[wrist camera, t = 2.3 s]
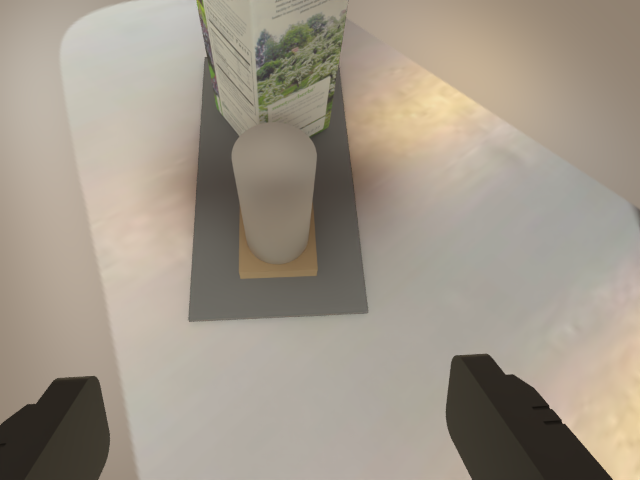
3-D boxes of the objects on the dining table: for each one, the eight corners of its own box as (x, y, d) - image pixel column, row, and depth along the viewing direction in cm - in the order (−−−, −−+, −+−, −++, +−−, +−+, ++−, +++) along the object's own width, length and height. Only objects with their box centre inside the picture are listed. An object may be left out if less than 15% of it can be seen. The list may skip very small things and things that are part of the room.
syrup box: (283, 77, 32) (282, -176, 19) (332, 131, 30) (367, -110, 17) (216, 110, 30) (164, -144, 17) (263, 169, 29) (244, -67, 16)
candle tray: (337, 61, 34) (353, -62, 26) (367, 313, 25) (405, 247, 17) (205, 60, 33) (179, -68, 25) (189, 321, 24) (141, 256, 16)
